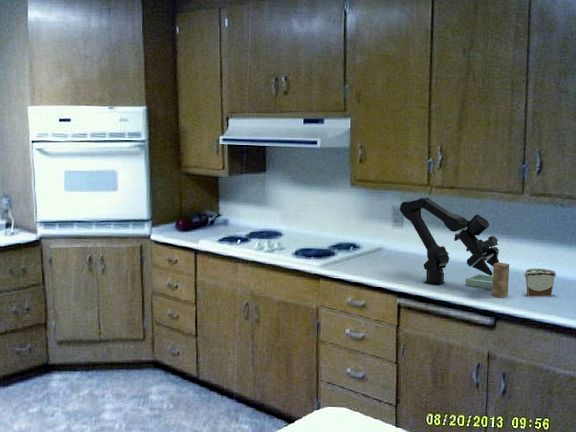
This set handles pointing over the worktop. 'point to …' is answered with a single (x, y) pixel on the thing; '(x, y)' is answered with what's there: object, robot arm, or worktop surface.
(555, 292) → the worktop surface
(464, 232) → the robot arm
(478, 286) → the tray
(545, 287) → the food container
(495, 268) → the walnut post
